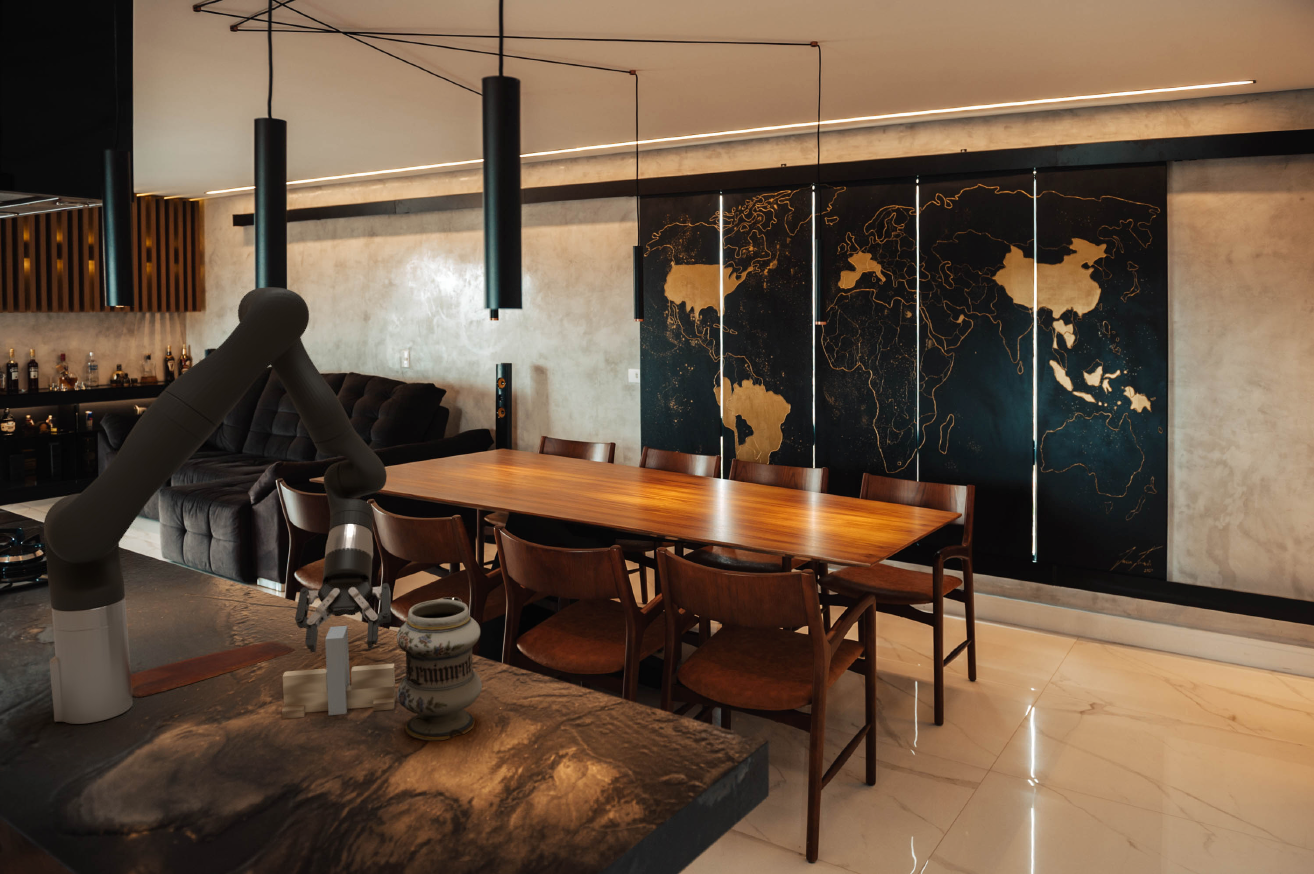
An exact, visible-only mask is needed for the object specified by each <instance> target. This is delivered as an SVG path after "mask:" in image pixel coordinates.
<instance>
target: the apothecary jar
mask: <svg viewBox="0 0 1314 874" xmlns="http://www.w3.org/2000/svg"><path fill="white" fill-rule="evenodd" d="M396 633H397V634H396V642H397V644H398V647H399V648H400V649H401V650H402V651H403V652H404V653H405V675H404V677H403V678H402V679H401V681H400V682H399V684H398V686H397V689H396V697H397V700H398V702H399V704H400V705H401V706H402V707H403V708H404V709H406V710H407V711H409V712H412V713H413V714H416V715H414V716H412V718H411V719H409V720H408V722H407V723H406V725H405V731H406V733H407V734H408V735H409V736H411V737H412V738H414V739H418V740H422V741H427V742H429V741H433V742H435V741H437V742H438V741H446V740H449V739H452V738H454V737H456V736H459V735H460V736H461V735H464V734H467V733H468V732H469V731H471V730H472V729H473V728H474V725H475V717H474V716H473V715H472V714H471V713H470V712H468V711H466V710H465V709H467V708H469V707H470V706H471V705H472V704H473V703H475V701H477V699H479V696H480V695H481V692H482V687H483V684H482V679H481V677H480V676H479V674H478V673H477V672H476V671H475V670H474V665H473V647H474V645H476V643H478V642H479V639H480V636H481V627H480V625H479V623H478V622H477V621H476V620H475V619H474V618H473V617H471V616H470V612H469V606H468V605H467V604H466V603H465V602H460V601H456V600H449V599H442V600H437V599H433V600H426V601H423V602H419V603H417V604H414V605H413V606H412V607H410V608H409V610H408V613H407V619H406V622H404V623H403V624H402V625H401V626H400V628H399V629H398V631H397V632H396Z"/></svg>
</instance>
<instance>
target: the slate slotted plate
mask: <svg viewBox="0 0 1314 874" xmlns="http://www.w3.org/2000/svg"><path fill="white" fill-rule="evenodd" d="M348 632H349V629H348V625H341V626H340V625H338V626H330V627H329V629H328V631H327V634H326V637H325V640H324V641H325V642H324V643H325V663H326V666H325V667H326V669H327V690H328V716H336V715H345V714H347V711H348V709H347V696H346V689H347V686H348V685H351V681H350V679H351V677H350V676H351V673H350V657H349V651H350V650H349V634H348Z"/></svg>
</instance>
